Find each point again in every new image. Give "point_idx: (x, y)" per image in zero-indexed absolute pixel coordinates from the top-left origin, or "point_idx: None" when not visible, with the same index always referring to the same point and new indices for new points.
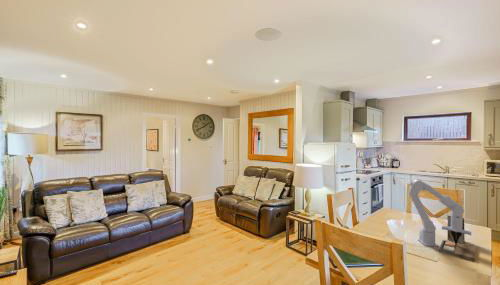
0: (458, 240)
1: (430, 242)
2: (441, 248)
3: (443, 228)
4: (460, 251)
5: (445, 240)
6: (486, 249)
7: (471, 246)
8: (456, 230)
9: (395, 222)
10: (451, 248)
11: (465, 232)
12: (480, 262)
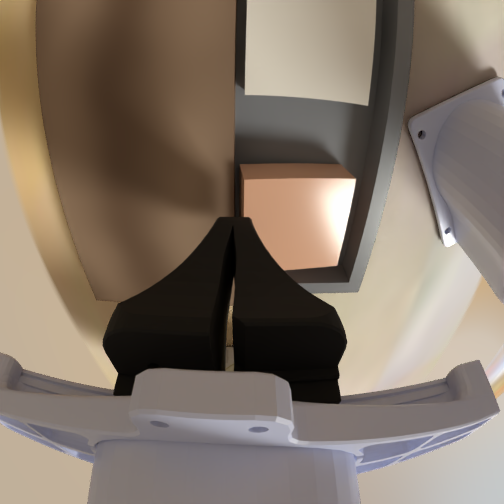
0: (230, 359)
1: (494, 106)
2: (387, 30)
3: (469, 386)
4: (165, 26)
5: (335, 292)
6: (76, 328)
7: (115, 291)
8: (189, 437)
9: (496, 368)
10: (280, 37)
11: (23, 398)
12: (22, 5)
